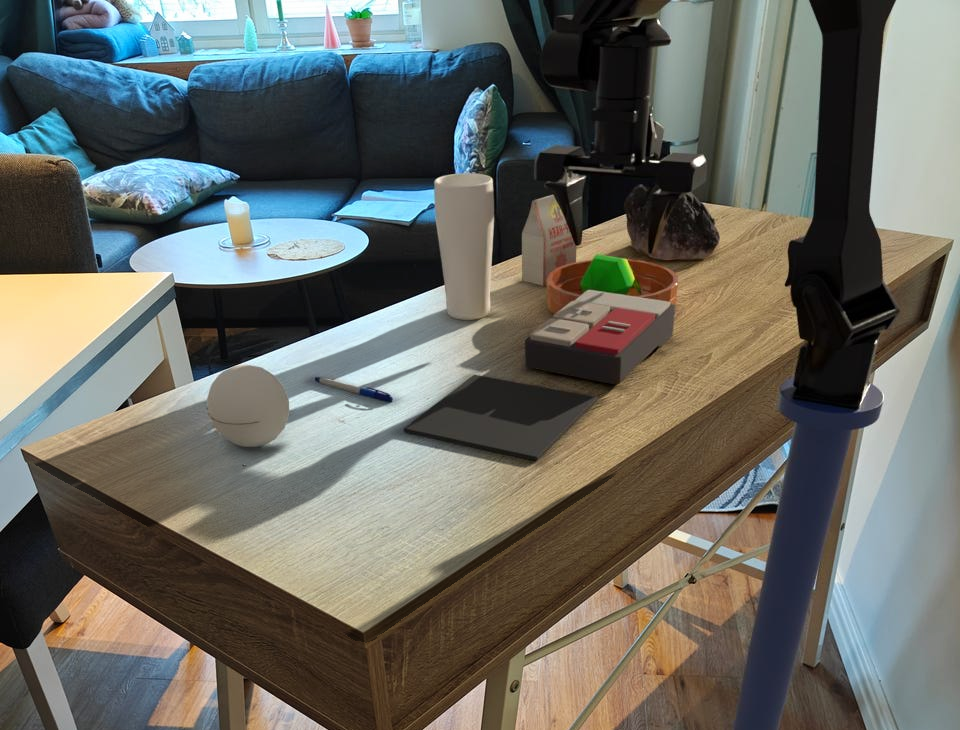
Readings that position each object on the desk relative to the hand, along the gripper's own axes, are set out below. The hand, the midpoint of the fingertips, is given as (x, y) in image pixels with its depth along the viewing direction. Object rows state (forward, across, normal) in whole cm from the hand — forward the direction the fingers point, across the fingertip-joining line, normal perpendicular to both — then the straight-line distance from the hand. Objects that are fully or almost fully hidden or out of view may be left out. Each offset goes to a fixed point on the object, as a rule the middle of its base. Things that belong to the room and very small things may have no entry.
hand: (614, 248), depth 105 cm
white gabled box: (+7, +12, -8) cm, 16 cm away
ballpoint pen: (+7, +15, +34) cm, 38 cm away
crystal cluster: (+7, +1, -26) cm, 27 cm away
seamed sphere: (+7, +17, +49) cm, 52 cm away
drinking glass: (+7, +15, +9) cm, 19 cm away
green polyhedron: (+6, 0, 0) cm, 7 cm away
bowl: (+7, 0, 0) cm, 7 cm away
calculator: (+7, -5, +15) cm, 17 cm away
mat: (+7, -2, +33) cm, 34 cm away
